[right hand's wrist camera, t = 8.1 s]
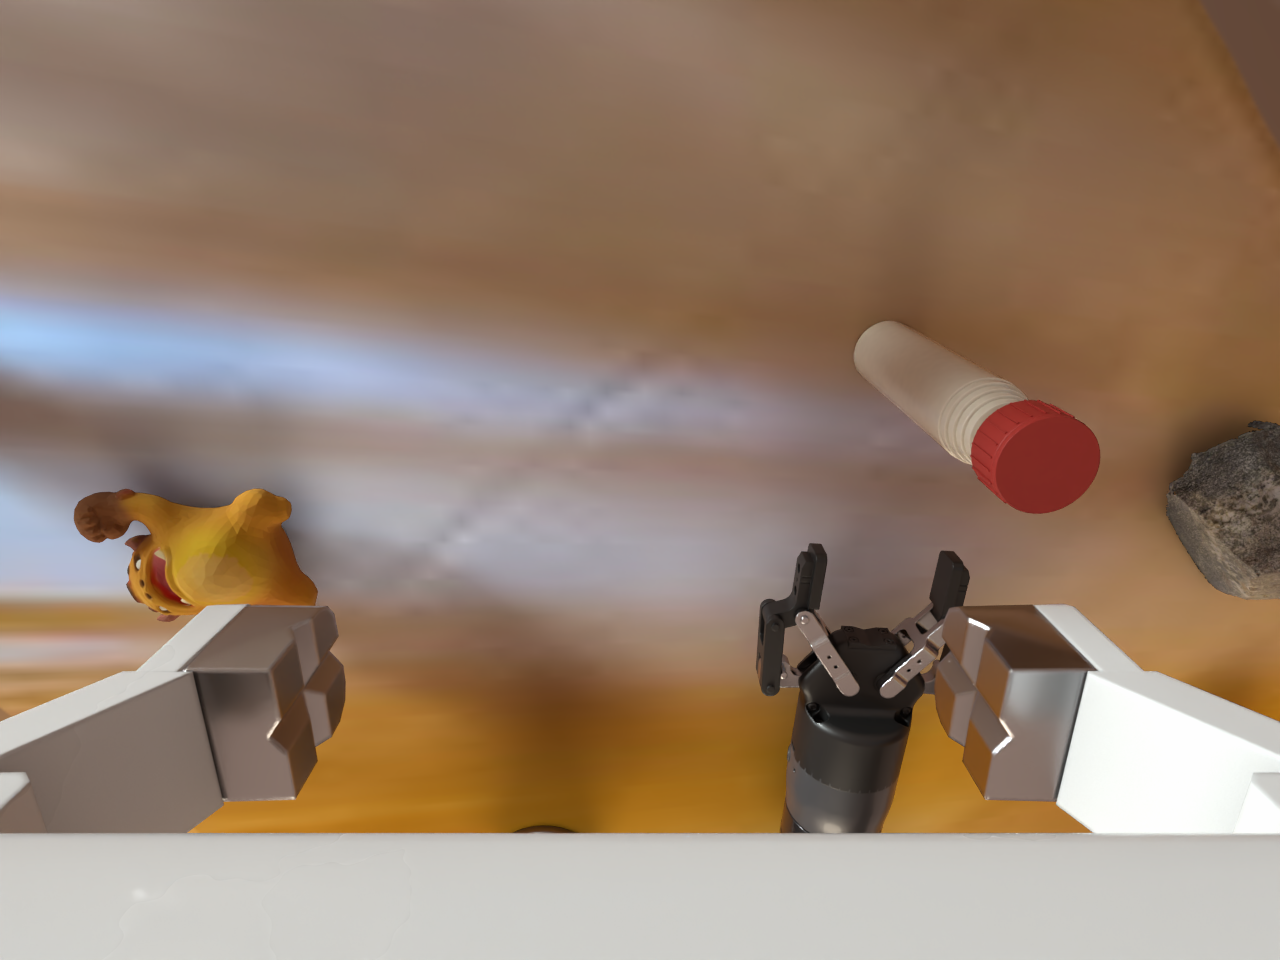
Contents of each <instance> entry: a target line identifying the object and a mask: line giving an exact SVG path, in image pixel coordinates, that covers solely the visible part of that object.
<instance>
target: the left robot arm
mask: <svg viewBox="0 0 1280 960" xmlns="http://www.w3.org/2000/svg"><path fill="white" fill-rule="evenodd" d="M826 566H827V554H826V552H825V550H824V548H823V546H822V544H813V543H810V544H809V546H808V552H801V553H800V555H799V556H798V558H797V564H796V570H795V577H794V583H793V590H792V593H791V595H790V596H789V597H788V598H786V599H783V600H780V601H775V600H773V599H766V600H764V601H763V602H762V603H761V605H760V616H759V630H758V645H757V660H756V670H757V674H758V678H759V682H760V686H761V690H762V692H763V694H765V695H766V696H774V695H776V694H777V693H778V692H779V690H780V687H799V688H800V692H799V698H798V704H797V710H796V716H795V722H794V728H793V733H792V739H791V744H790V746H789V748H788V755H787V760H788V763H787V772H786V798H785V803H784V809H783V815H782V820H781V826H780V833H881V832H882V828H883V824H884V821H885V818H886V816H887V814H888V812H889V810H890V807H891V804H892V801H893V798H894V794H895V790H896V785H897V781H898V777H899V773H900V769H901V764H902V760H903V756H904V752H905V748H906V744H907V739H908V735H909V731H910V727H911V720H912V710H913V706H914V704H915V703H916V701H917V700H918V699H919V698H920V697H921V696H922V694H923V693H926V694H935V691H934V685H935V676H936V668H937V665H938V664H939V663H940V662H941V660H942V659H943V658H944V657H945V656H946V655H947V654H948V653H949V652H950V651H951V650H950V649H949V647H948V646H947V644H946V642H945V641H944V639H943V638H942V636H941V635H942V630H943V624H944V619H945V617H946V614H947V612H948V610H949V608H952V607H959V606H963V603H964V599H965V595H966V591H967V585H968V583H969V579H970V577H969V571H968V570H967V568H966V567H965V566H964V565H963V562H962V560H961V559H960V558H959V557H958V556H957V555H956V553H955V552H954V551H941V552H940V554H939V558H938V563H937V567H936V571H935V575H934V580H933V584H932V588H931V593H930V597H929V598H930V600H931V601H932V603H930V604H929V605H928V606H927V607H926V608H925V609H924V610H922V611H921V612H920V613H919V614H918V615H917V616H915V617H914V618H907V619H905V620H904V621H903V622H902V623H900V624H899V625H898V626H897V627H896V628H895V629H894V630H892V631H891V632H889V630H888V629H887V628H871V629H865V630H863V629H860V628H856V627H853V626H841V629H840V630H837V631H834V632H833V633H831V632H830V630H829V629H828V627H827V626H826V624H825V623H824V621H823V620H822V618H821V617H820V615H819V614H818V613H817V612H816V611H815V610H814V609H819V607H820V601H821V595H822V590H823V584H824V578H825V572H826ZM795 625H797V626H798V627H799V629H800V630H801V632H802V633H803V634H804V636H805V637H806V639H807V640H808V642H809V643H810V645H811V647H812V649H813V651H812V652H810V653H809V654H808V655H807V656H806V657H805V658H804V659H803V660H802V661H801V662H800V663H799V664H798V666H797V668H793V667H791V666H790V664H789V661H788V658H787V657H786V656H785V655H784V654H783V643H784V630H785V628H787V627H791V626H795ZM911 640H912V641H913V643H914V648H913V650H912V651H911V652H910V653H908V651H907V650H906V648H905V645H906V644H908V643H909V642H910V641H911ZM944 644H945V645H944ZM943 645H944V648H943V651H942V655H941V658H940V661H939V660H934V659H935V658H936V657H937V655H938V650H939V648H940V647H941V646H943ZM933 660H934V661H933ZM932 661H933V666H932V668H931V670H930V671H929V672H927V673H925V674H921V673H920V671H921V670H922V669H924V668H925V667H926V666H927V665H928V664H929V663H931V662H932ZM514 833H575V832H572V831H570V830H567V829H564V828H560V827H555V826H533V827H528V828H524V829H521V830H518V831H516V832H514Z"/></svg>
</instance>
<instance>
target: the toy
mask: <svg viewBox="0 0 1280 960" xmlns="http://www.w3.org/2000/svg"><path fill="white" fill-rule="evenodd" d="M291 510H292V508H291V503H290V502H289V501H288V500H287V499H285V498H283V497H279V496H275V495H274V494H272V493H270V492H268V491H266V490H264V489H252V490H248V491H245V492H244V493H242V494H240V495H239V496H237V497H236V498H235V500H234V501H233V503H232V504H230V505H227V506H223V507H217V508H198V507H190V506H185V505H181V504H177V503H173V502H170V501H168V500H166V499H164V498H162V497H160V496H155V495H151V494H146V493H137V492H133V491H132V490H130V489H123V490H120V491H118V492H115V493H113V492H99V493H95V494H92V495H90V496H87V497H85V498H83V499H82V500H81V501H79V502H78V504H77V506H76V508H75V511H74V522H75V525H76V527H77V529H78V531H79V532H80V534H81V535H83V536H84V537H85V538H86V539H88V540H90V541H93V542H98V543H100V542H103V541H104V540H105V539H106V538H109V539H116V538H119V537H121V536H122V535H124V534H125V532H126V531H127V530H128V527H129V525H130V523H131V522H132V521H134V520H137V521H140V522H142V523H143V524H145V525H146V527H147V528H148V529H149V531H150V533H151V534H150V535H138V536H135V537H132V538H130V539H129V540H127V541H126V543H125V545H127V546H129V547H131V548H132V549H133V550H134V552H133V554H132V559H131V562H130V564H129V566H128V570H127V571H128V575H129V581H128V583H127V584H126V585H127V588H128V590H129V592H130V594H131V595H132V597H133V598H134V599H135V600H136V601H137V602H138V603H143V604H146V605H147V606H148V607H149V609H150V610H152V611H154V612H160V613H162V615H160V616H159V617H158V618H157V620H159V621H164V622H170V621H173V620H175V619H176V618H177V617H179V616H180V615H194V614H199V613H200V612H201V611H202V610H203V609H204V608H205V607H206V606H211V605H228V604H250V605H293V606H315V602H316V598H317V593H318V591H317V588H316V587H315V585H314V583H313V582H312V581H311V580H310V578H309V577H307V576H306V575H305V574H304V573H302V572H301V570H300V568H299V566H298V564H297V562H296V559H295V556H294V553H293V549H292V546H291V543H290V541H289V539H288V537H287V535H286V533H285V531H284V530H283V528H282V527H281V524H282V522H284V521H285V520H287V519H288V518H289V517H290V514H291Z"/></svg>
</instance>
